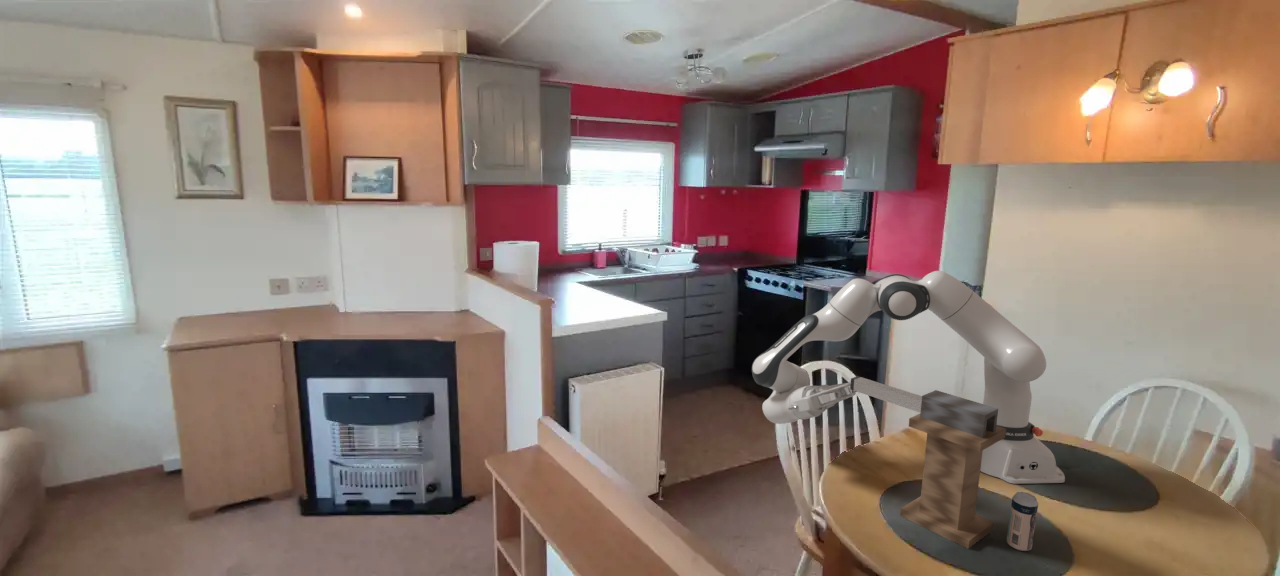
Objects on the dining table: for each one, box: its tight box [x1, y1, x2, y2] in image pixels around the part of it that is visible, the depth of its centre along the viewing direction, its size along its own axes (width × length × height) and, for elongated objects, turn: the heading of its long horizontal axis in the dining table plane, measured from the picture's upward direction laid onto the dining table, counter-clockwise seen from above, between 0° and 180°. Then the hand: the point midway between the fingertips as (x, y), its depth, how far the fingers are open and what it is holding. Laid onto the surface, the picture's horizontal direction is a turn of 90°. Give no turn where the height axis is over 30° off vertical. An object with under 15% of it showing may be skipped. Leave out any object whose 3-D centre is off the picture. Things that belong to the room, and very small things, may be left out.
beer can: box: [1006, 491, 1039, 552], centre depth 132 cm, size 5×5×12 cm
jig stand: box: [899, 389, 1006, 550], centre depth 139 cm, size 16×12×30 cm
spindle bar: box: [850, 375, 923, 414], centre depth 149 cm, size 22×3×3 cm, turn 36°
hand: (847, 391), depth 159 cm, fingers open, 8 cm apart
